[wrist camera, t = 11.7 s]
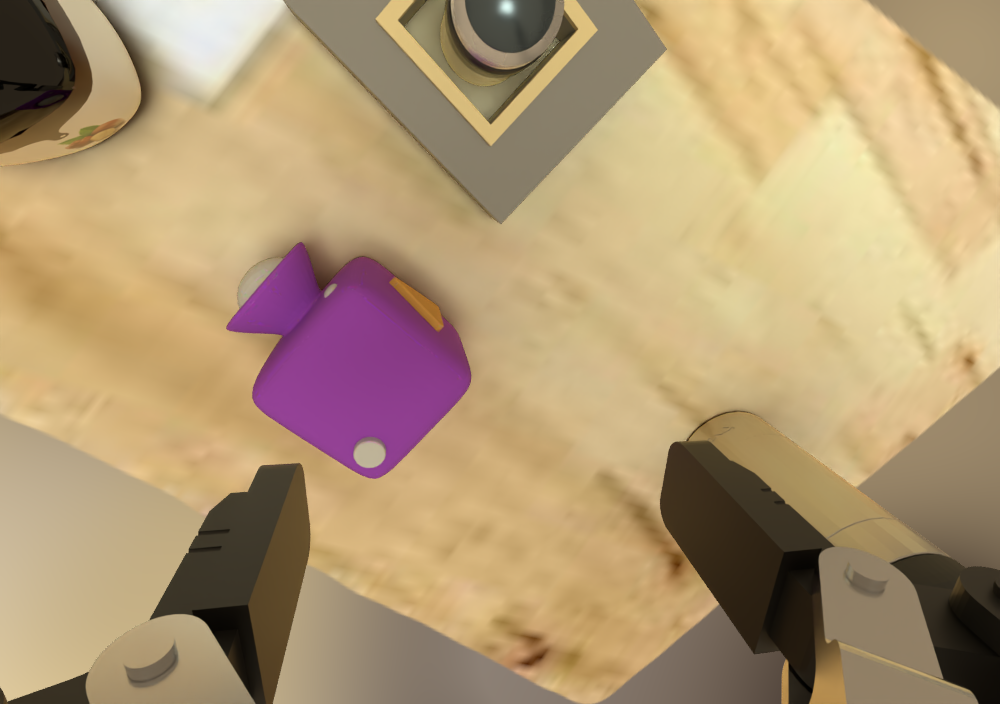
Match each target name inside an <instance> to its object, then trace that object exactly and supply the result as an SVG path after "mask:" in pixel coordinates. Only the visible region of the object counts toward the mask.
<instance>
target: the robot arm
mask: <svg viewBox="0 0 1000 704" xmlns="http://www.w3.org/2000/svg"><path fill="white" fill-rule="evenodd" d="M660 509H661V515H662V518H663V521H664V524H665V526H666V528H667V529H668V531H669V532H670V533H671V535H672V536H673V538H674V539H675V541H676V542H677V544H678V545H679V546H680V548H681V549H682V551H683V552H684V554H685V555H686V557H687V558H688V559H689V561H690V562H691V564H692V565H693V567H694V568H695V570H696V571H697V572H698V574H699V575H700V577H701V578H702V580H703V581H704V583H705V584H706V585H707V587H708V588H709V590H710V591H711V593H712V594H713V595H714V597H715V598H716V600H717V601H718V603H719V604H720V606H721V607H722V608H723V609H724V611H725V613H726V614H727V616H728V617H729V618H730V620H731V621H732V623H733V624H734V626H735V627H736V629H737V630H738V632H739V633H740V634H741V636H742V637H743V639H744V640H745V642H746V643H747V644H748V646H749V647H750V649H751V650H752V651H753V653H754V654H760V653H768V652H775V651H781V653H782V654H783V655H784V657H785V658H786V661H785V664H784V667H783V670H782V704H1000V570H997V569H992V568H986V567H968V568H965V567H964V566H962V565H961V564H960V563H958V562H957V561H956V560H954V559H952V558H951V557H950V556H949V555H947V554H946V553H944V552H943V551H942V550H940V549H939V548H938V547H936V546H935V545H934V544H932V543H931V542H929V541H928V540H927V539H925V538H924V537H923V536H921V535H920V534H918V533H917V532H916V531H914V530H913V529H912V528H910V527H909V526H908V525H906V524H904V523H903V522H901V521H900V520H899V519H897V518H896V517H895V516H893V515H892V514H891V513H889V512H888V511H887V510H885V509H884V508H882V507H881V506H880V505H878V504H877V503H876V502H874V501H873V500H872V499H870V498H869V497H867V496H866V495H865V494H863V493H862V492H861V491H859V490H858V489H857V488H855V487H854V486H852V485H851V484H850V483H848V482H847V481H846V480H844V479H843V478H842V477H840V476H839V475H837V474H836V473H835V472H833V471H832V470H831V469H829V468H828V467H827V466H825V465H824V464H822V463H821V462H820V461H818V460H817V459H816V458H814V457H813V456H811V455H810V454H809V453H807V452H806V451H805V450H803V449H802V448H801V447H799V446H798V445H796V444H795V443H794V442H793V441H791V440H790V439H789V438H787V437H786V436H784V435H783V434H782V433H780V432H779V431H778V430H776V429H775V428H773V427H772V426H771V425H769V424H768V423H767V422H765V421H764V420H762V419H761V418H759V417H758V416H756V415H754V414H751V413H748V412H732V413H726V414H723V415H720V416H717V417H715V418H713V419H712V420H710V421H708V422H706V423H705V424H704V425H702V426H701V427H700V428H699V429H698V430H697V431H696V432H695V433H694V434H693V435H692V436H691V437H690V439H689V440H688V441H683V442H674V443H673V444H672V445H671V446H670V449H669V452H668V458H667V464H666V469H665V475H664V481H663V487H662V492H661V498H660ZM309 550H310V522H309V513H308V505H307V496H306V487H305V479H304V471H303V467H302V465H301V464H300V463H296V464H280V465H263V466H260V468H259V469H258V471H257V473H256V475H255V478H254V480H253V482H252V484H251V486H250V488H249V490H248V492H240V493H230V494H229V495H228V496H227V497H226V498H225V499H223V500H222V501H221V502H220V503H219V504H217V505H216V506H215V507H214V508H213V509H212V510H210V511H209V513H208V515H207V517H206V519H205V520H204V522H203V524H202V526H201V528H200V530H199V532H198V536H196V537H195V539H194V540H193V542H192V544H191V546H190V548H189V553H186V555H185V557H184V558H183V560H182V562H181V564H180V566H179V568H178V569H177V571H176V573H175V575H174V577H173V578H172V580H171V582H170V584H169V586H168V587H167V589H166V591H165V593H164V595H163V596H162V598H161V600H160V602H159V604H158V605H157V607H156V609H155V611H154V613H153V614H152V616H151V618H150V620H149V621H147V622H145V623H142V624H140V625H138V626H136V627H134V628H132V629H131V630H129V631H127V632H126V633H124V634H123V635H122V636H120V637H118V638H117V639H116V640H115V641H114V642H112V643H111V644H110V645H109V646H108V647H107V648H106V649H105V650H104V651H103V652H102V653H101V654H100V655H99V657H98V658H97V659H96V661H95V662H94V664H93V666H92V667H91V669H90V671H89V672H87V673H85V674H83V675H81V676H78V677H76V678H73V679H70V680H68V681H65V682H62V683H59V684H57V685H54V686H51V687H48V688H45V689H42V690H39V691H36V692H34V693H31V694H28V695H25V696H22V697H20V698H17V699H14V700H11V701H8V702H7V700H6V698H5V695H4V693H3V691H2V690H1V688H0V704H273V700H274V696H275V692H276V688H277V684H278V679H279V675H280V671H281V667H282V663H283V659H284V655H285V651H286V646H287V643H288V639H289V635H290V630H291V626H292V622H293V618H294V614H295V610H296V606H297V602H298V598H299V594H300V589H301V585H302V582H303V577H304V573H305V569H306V565H307V561H308V557H309Z"/></svg>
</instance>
